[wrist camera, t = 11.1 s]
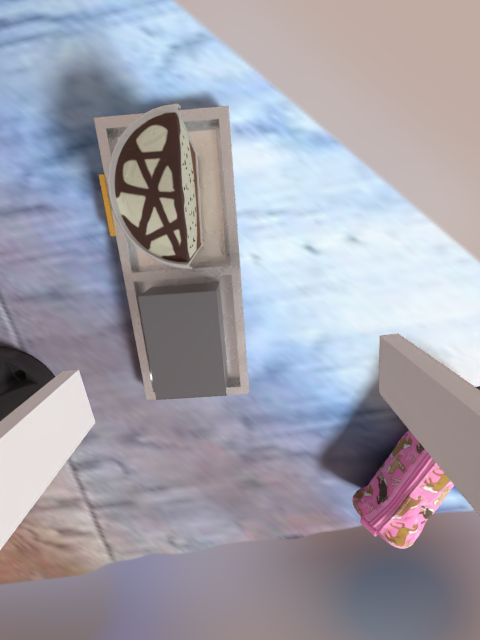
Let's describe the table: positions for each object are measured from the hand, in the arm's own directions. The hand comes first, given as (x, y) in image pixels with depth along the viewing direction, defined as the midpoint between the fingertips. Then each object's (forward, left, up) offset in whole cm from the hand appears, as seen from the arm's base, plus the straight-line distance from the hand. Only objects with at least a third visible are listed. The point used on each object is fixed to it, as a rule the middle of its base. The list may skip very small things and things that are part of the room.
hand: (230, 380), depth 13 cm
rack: (-6, +2, -24) cm, 25 cm away
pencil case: (+22, -25, -24) cm, 41 cm away
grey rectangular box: (-6, -6, -23) cm, 24 cm away
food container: (-7, +9, -23) cm, 26 cm away
